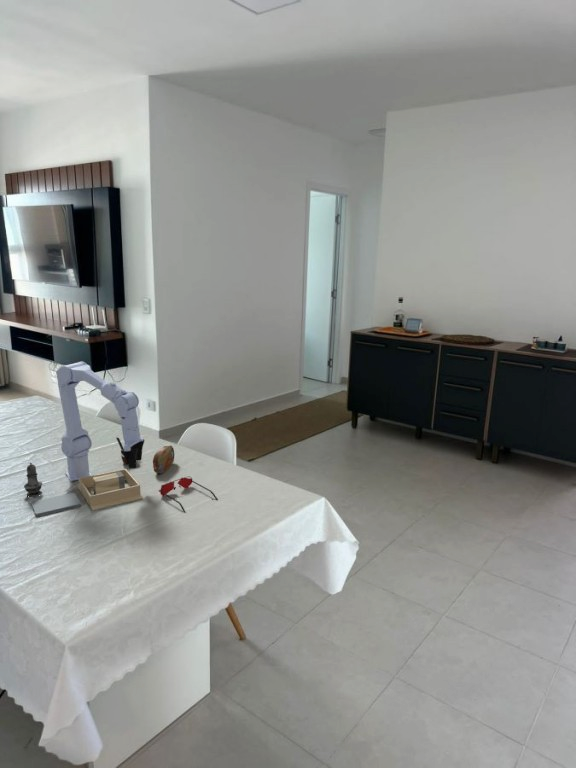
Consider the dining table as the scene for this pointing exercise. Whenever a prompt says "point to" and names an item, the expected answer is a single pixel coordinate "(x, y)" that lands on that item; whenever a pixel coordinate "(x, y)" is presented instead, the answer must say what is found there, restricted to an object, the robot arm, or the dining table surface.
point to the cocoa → (121, 453)
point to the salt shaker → (32, 482)
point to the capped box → (108, 483)
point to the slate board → (55, 504)
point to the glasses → (182, 482)
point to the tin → (163, 459)
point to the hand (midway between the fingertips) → (135, 464)
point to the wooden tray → (111, 496)
